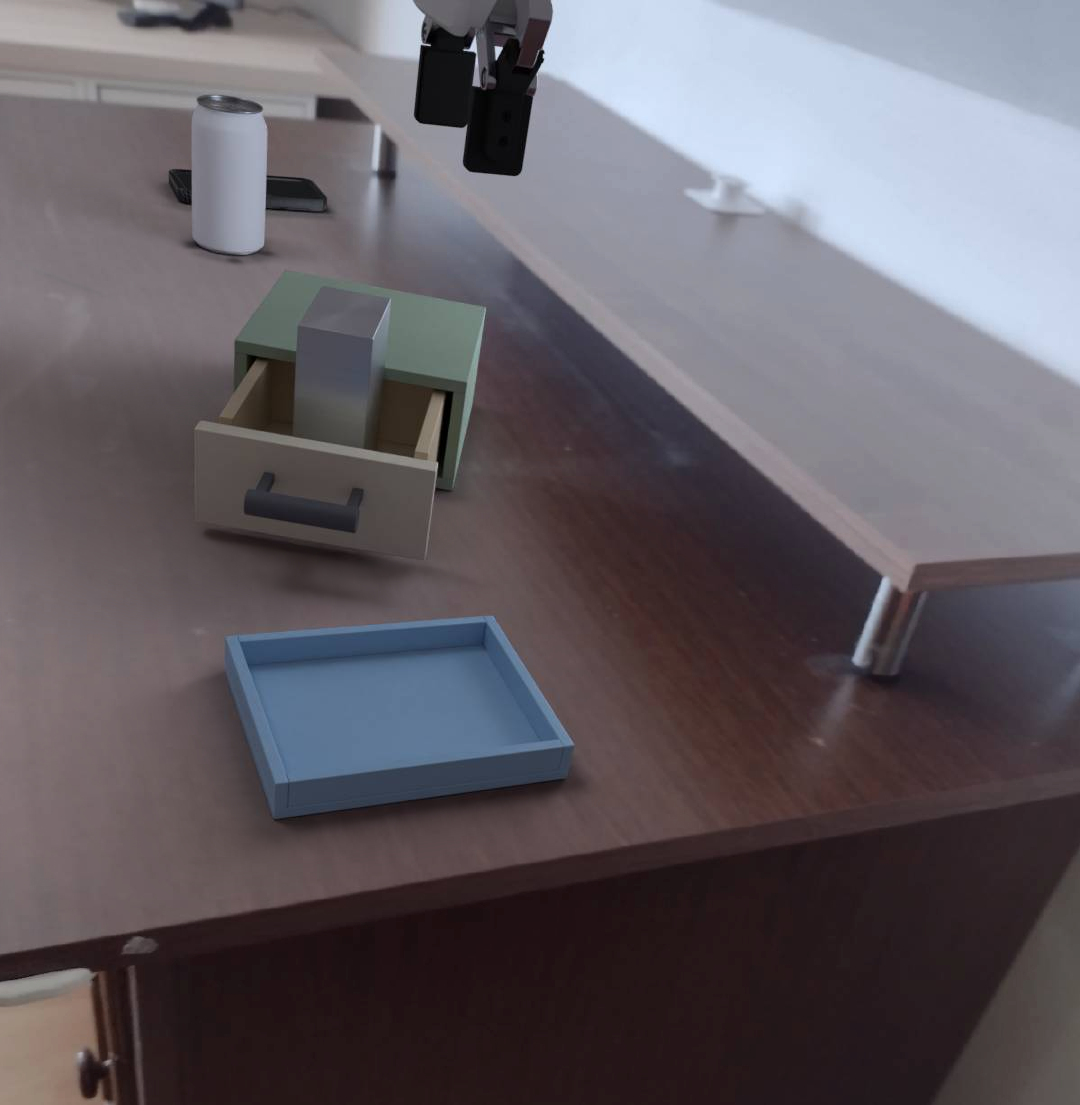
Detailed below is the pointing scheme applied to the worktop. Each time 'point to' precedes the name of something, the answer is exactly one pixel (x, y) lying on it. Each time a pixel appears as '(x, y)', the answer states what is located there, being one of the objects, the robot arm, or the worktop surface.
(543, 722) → the tray
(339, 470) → the drawer
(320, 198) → the phone
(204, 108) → the can
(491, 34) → the robot arm
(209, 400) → the worktop surface
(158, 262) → the worktop surface
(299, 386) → the brushed metal block
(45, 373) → the worktop surface
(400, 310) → the cabinet
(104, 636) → the worktop surface
